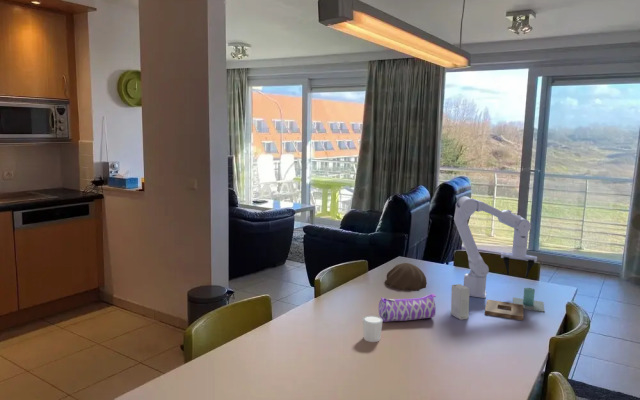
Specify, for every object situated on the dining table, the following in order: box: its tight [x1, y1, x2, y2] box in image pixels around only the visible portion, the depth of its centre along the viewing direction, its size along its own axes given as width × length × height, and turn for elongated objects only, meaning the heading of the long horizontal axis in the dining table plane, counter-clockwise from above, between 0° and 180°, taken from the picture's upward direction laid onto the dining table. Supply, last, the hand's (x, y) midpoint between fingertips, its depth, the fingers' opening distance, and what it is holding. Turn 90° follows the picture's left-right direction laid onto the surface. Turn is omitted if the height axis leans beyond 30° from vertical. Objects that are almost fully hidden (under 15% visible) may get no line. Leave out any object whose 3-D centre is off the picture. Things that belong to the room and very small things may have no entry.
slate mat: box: [512, 297, 546, 313], centre depth 197 cm, size 12×12×1 cm
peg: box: [522, 287, 535, 306], centre depth 197 cm, size 4×4×6 cm
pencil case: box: [378, 293, 437, 323], centre depth 179 cm, size 22×9×10 cm, turn 104°
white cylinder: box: [362, 315, 384, 343], centre depth 161 cm, size 7×7×7 cm
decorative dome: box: [384, 262, 427, 291], centre depth 222 cm, size 19×20×10 cm
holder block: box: [484, 299, 524, 321], centre depth 190 cm, size 14×14×2 cm
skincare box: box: [450, 283, 470, 321], centre depth 182 cm, size 6×4×12 cm
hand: (517, 275), depth 207 cm, fingers open, 7 cm apart
